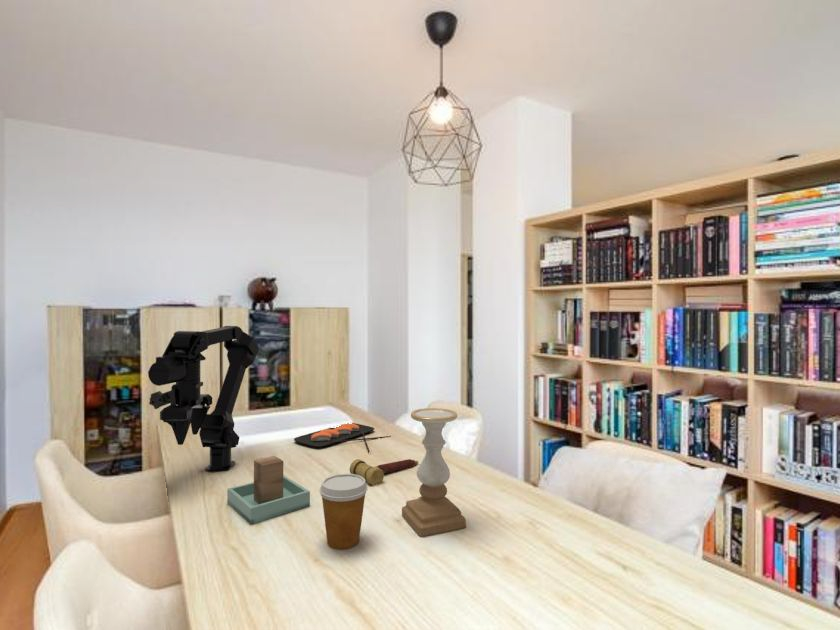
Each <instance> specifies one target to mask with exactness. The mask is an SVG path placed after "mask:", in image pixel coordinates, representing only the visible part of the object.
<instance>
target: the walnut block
mask: <svg viewBox="0 0 840 630" xmlns="http://www.w3.org/2000/svg"><path fill="white" fill-rule="evenodd" d="M283 475H284V460H282V459H281V458H280V457H278V456H275V455H270V456H267V457H262V458H258V459H253V482H254V501H255V502H257V503H258V504H263V503H266V502H269V501H273V500H276V499H280V498H283Z"/></svg>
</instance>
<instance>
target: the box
mask: <svg viewBox="0 0 840 630" xmlns="http://www.w3.org/2000/svg"><path fill="white" fill-rule="evenodd" d="M226 501H227V504H228V506H229V507H231V508H232V509H233V510H234V511H235V512H236V513H237V514H238V515H239V516H240V517H242V518H243V520H245V521H246V522H247V523H248V524H249V525H254V524H258V523H261V522H264V521H267V520H269V519H273V518H277V517H280V516H283V515H287V514H289V513H292V512H295V511H298V510H302V509H305V508H309V507H311V491H310V490H308V489H307V488H305V487H304V486H302V485H301V484H299V483H297V482H296V481H294V480H293V479H291V478H289V477H288V476H286V475H284V474H283V498H280V499H276V500H273V501H269V502H266V503H263V504H258V503H257V502H255V501H254V481H252V482H249V483H245V484H240V485H238V486H233V487H230V488H227V500H226Z"/></svg>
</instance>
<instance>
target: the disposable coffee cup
mask: <svg viewBox="0 0 840 630" xmlns="http://www.w3.org/2000/svg"><path fill="white" fill-rule="evenodd" d="M368 488H369V486H368V483H367V481H365V479H364V478H363V477H362V476H359V475H355V474H351V473H339V474H334V475H331V476H328V477H325V478H324V479H322V482H321V486H320V487H319V488H318V489H319V490H318V492H319V493H320V496H321V500H322V510H323V515H324V516H323V517H324V525H325V526H324V527H325V533H326V534H325V535H326V543H327V545H328V546H329V547H330V548H331V549H332V548H333V549H335V550H347V549H350V548H351V549H352V548H354V547H355V546H356V545H358V544H359V542H360V538H361V537H360V535H361V530H362V529H361V528H362V521H363V513H364V507H365V505H364V504H365V500H366V499H365V498H366V494H367V491H368Z"/></svg>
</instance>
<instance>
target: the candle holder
mask: <svg viewBox="0 0 840 630" xmlns="http://www.w3.org/2000/svg"><path fill="white" fill-rule="evenodd" d="M410 418H411V419H412V420H414V421H416V422H419V423H420V422H421V425H422V426H423V428H424V429H425V436H424V438H423V439H422V441H421V444H422V445H423V447H424V450H425V455H424V457H423V459H422V461H421V462H420V463H419V466H418V467H417V470H416V477H417V479H418V481H419V483H422V484H421V485H420V486H419V494H420V497H419V496H418V498H416V499H410V500H407V501H406V502H405V506H402V507H401V516H402V518H403V519H404V520H405V522H406V523H407V524H408V525H409V526H410V527H411V529H412V530H413V531H414V532H415V534H417V535H418V537H421V538H423V537H424V538H425V537H428V536H434V535H439V534H443V533H448V532H453V531H457V530H458V531H459V530H463V529H465V528H467V520H466V518H465V516H463V515H462V511H461V510H460V509H459V507H457V505H456V504H454V503H453V502H452V501H451V500H450V498H448V497H446V495H447V493H448V489H447V486H446V485H445V484H446V483H447V482H448V481H449V479H450V477H451V471H450V468H449V466H448V464H447V462H446V461H445V459H444V457H443V454H442V450H443V448H444V446H445V445H446V442H447V441H446V440H445V439H444V437H443V429H444V428H445V426H446V424H447V423H451V422H455V421H456V420H457V418H458V413H457V412H456V411H454V410H451V409H448V408H441V407H440V408H438V407H437V408H436V407H427V408H419V409H415V410H412V411H411V413H410Z"/></svg>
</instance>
